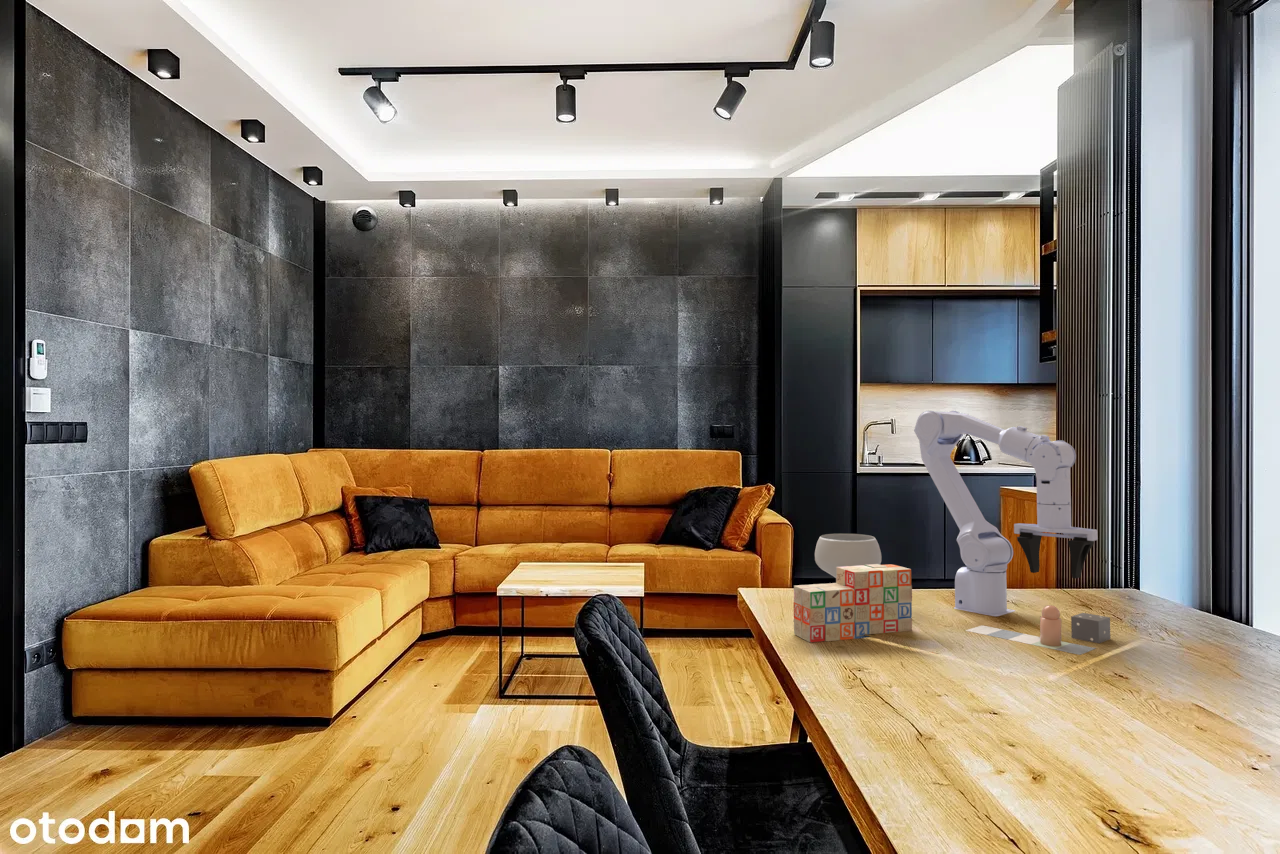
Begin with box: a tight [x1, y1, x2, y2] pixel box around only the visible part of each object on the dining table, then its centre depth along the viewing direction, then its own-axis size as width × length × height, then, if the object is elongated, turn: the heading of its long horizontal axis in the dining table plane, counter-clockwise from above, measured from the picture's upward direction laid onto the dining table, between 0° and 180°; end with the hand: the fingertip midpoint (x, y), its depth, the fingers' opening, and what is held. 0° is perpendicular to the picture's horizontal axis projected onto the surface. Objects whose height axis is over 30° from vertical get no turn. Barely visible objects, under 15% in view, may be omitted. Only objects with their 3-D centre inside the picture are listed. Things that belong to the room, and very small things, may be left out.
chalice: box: [814, 533, 882, 579], centre depth 163 cm, size 14×14×15 cm
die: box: [1070, 612, 1111, 644], centre depth 133 cm, size 5×5×5 cm
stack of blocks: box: [793, 564, 913, 643], centre depth 140 cm, size 21×6×12 cm, turn 106°
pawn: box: [1039, 604, 1062, 646], centre depth 130 cm, size 3×3×7 cm
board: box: [965, 625, 1097, 656], centre depth 133 cm, size 20×6×1 cm, turn 37°
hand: (1055, 574), depth 144 cm, fingers open, 7 cm apart
